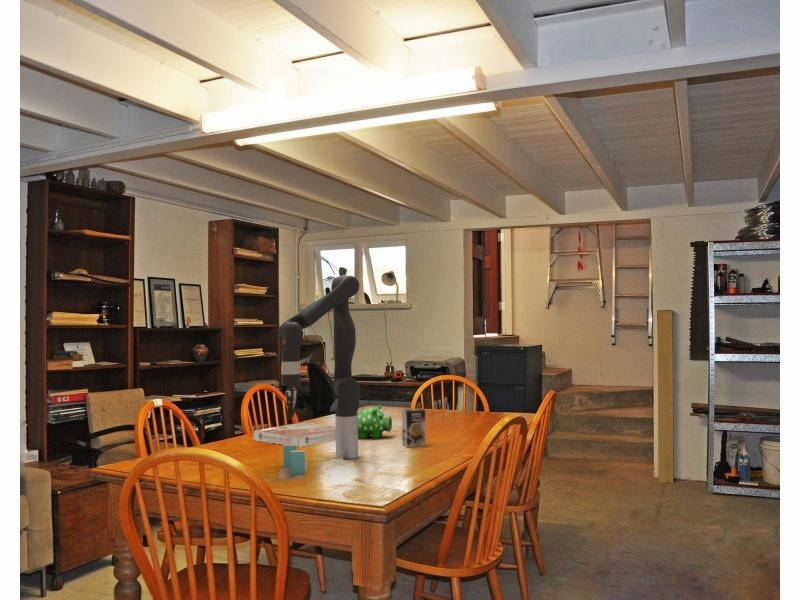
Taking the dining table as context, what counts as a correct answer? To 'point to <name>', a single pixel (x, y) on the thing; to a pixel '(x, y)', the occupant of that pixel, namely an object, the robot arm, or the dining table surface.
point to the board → (289, 473)
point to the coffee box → (413, 427)
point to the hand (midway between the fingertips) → (291, 415)
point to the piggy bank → (373, 423)
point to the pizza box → (297, 434)
